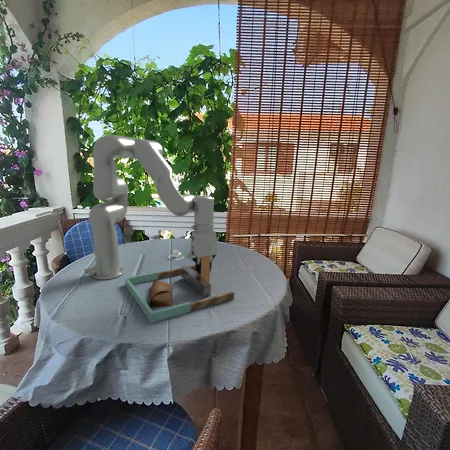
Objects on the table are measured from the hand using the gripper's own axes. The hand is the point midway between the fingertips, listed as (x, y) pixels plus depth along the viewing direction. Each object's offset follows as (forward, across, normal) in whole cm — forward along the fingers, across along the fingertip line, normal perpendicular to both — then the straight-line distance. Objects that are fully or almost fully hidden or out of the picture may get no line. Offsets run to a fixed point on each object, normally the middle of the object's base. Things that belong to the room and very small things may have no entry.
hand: (203, 270), depth 116 cm
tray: (+6, -20, 0) cm, 21 cm away
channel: (+6, -5, 0) cm, 8 cm away
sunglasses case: (+7, -18, 0) cm, 19 cm away
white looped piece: (+7, +7, +36) cm, 38 cm away
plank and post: (+6, -2, +1) cm, 6 cm away
